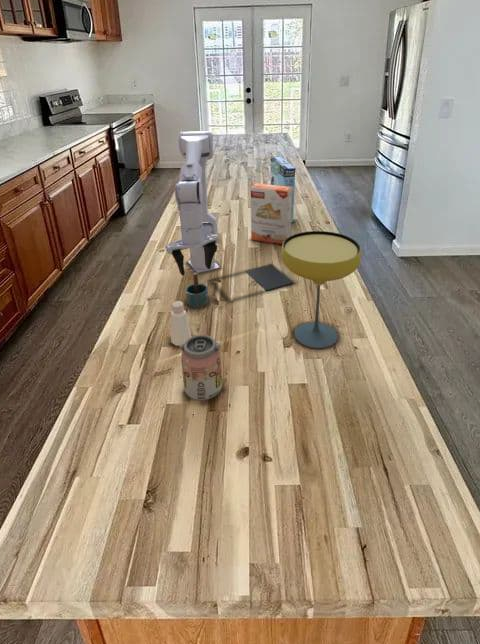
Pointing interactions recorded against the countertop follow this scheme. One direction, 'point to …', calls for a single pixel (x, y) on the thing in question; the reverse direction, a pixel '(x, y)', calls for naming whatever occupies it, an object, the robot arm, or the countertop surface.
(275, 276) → the mat
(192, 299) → the espresso cup
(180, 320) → the pepper shaker
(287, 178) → the blue upright flat box
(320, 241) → the cocktail glass
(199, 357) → the beverage can
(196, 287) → the stirring stick
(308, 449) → the countertop surface
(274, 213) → the cracker box
